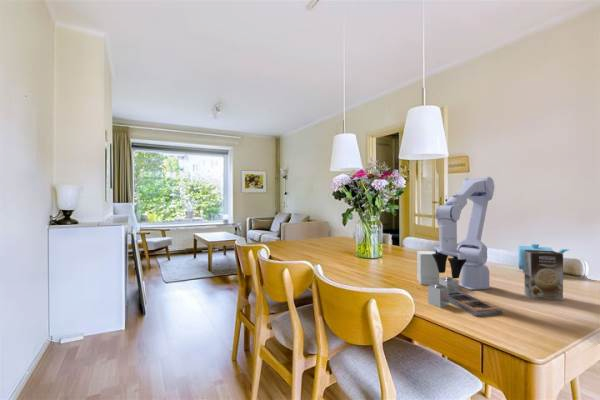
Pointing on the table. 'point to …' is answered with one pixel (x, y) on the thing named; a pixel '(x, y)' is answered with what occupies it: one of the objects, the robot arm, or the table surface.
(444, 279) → the grey rectangular block
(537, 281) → the coffee box
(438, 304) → the grey upright block
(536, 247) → the teapot
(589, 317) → the table surface
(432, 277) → the supplement box
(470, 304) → the grey compartment tray
